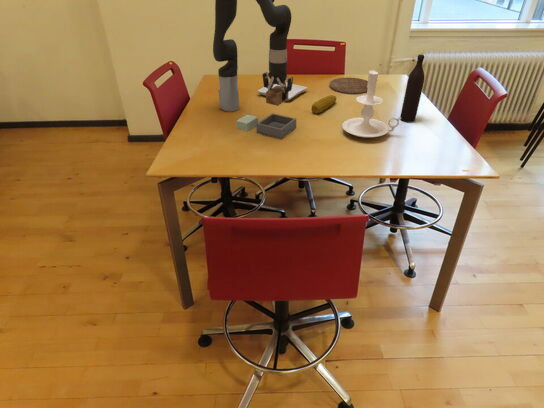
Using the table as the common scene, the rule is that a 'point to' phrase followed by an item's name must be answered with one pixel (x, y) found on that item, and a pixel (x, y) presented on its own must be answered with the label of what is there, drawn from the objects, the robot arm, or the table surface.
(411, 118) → the wine bottle
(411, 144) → the table surface
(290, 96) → the salad plate
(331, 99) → the food
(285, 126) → the tray
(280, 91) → the walnut block
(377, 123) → the candlestick
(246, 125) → the sage carton
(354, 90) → the trivet
